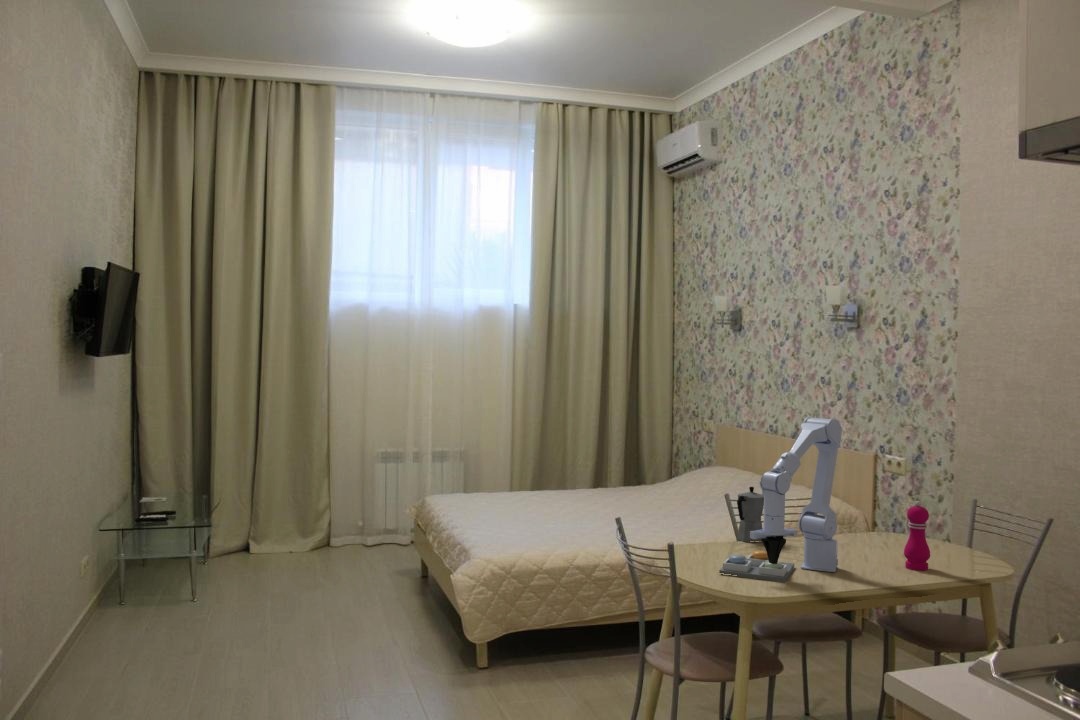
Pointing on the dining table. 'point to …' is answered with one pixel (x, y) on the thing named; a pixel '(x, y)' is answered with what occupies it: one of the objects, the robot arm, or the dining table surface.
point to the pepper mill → (917, 539)
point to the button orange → (759, 555)
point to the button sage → (773, 565)
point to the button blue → (737, 559)
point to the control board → (757, 570)
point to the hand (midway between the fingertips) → (773, 563)
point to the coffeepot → (749, 514)
